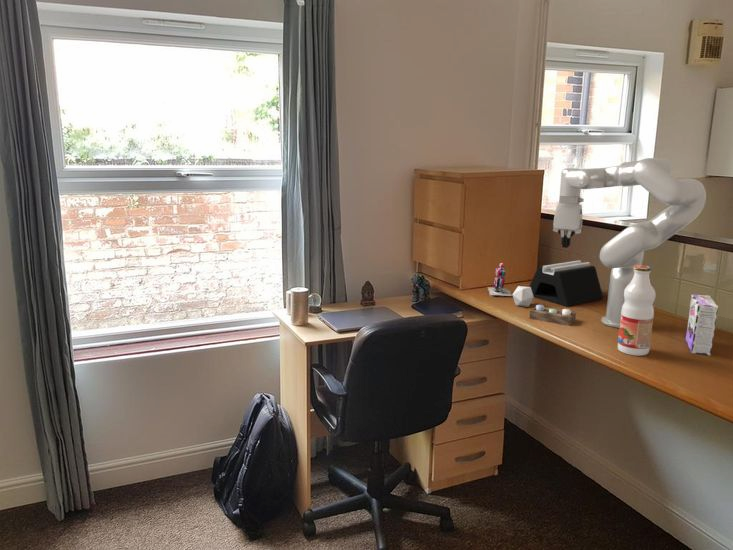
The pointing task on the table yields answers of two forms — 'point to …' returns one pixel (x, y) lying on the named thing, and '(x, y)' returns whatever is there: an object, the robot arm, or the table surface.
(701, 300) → the candy box
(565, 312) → the cream button
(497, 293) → the statue
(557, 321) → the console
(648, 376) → the table surface
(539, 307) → the slate blue button
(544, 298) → the device stand
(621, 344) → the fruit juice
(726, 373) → the table surface
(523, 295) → the die
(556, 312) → the sage button
